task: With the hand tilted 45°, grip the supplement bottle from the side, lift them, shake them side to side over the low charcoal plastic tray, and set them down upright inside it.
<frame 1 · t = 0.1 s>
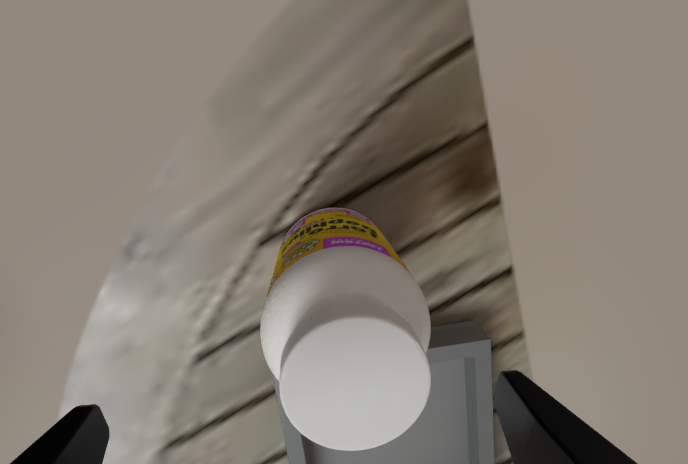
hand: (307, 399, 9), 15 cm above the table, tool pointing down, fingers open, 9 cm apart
tray: (385, 420, 28), on the table
supplement bottle: (332, 257, 25), on the table
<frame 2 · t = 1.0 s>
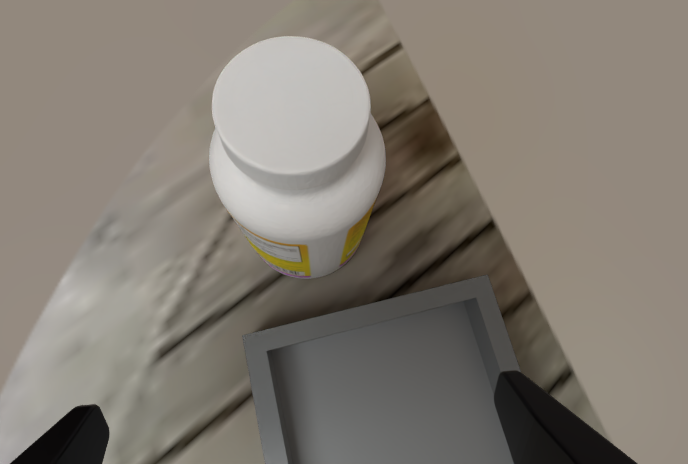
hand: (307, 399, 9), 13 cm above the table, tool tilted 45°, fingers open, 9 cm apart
tray: (395, 429, 21), on the table
supplement bottle: (306, 226, 24), on the table
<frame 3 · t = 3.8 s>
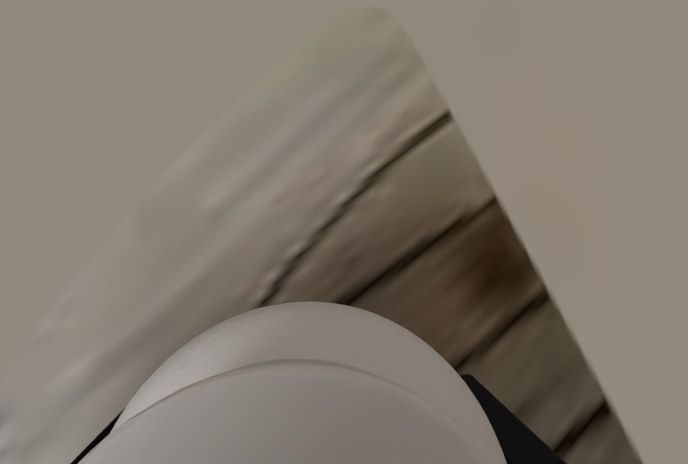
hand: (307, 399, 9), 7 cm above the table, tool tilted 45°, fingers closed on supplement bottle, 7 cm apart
supplement bottle: (314, 418, 15), on the table, touching gripper
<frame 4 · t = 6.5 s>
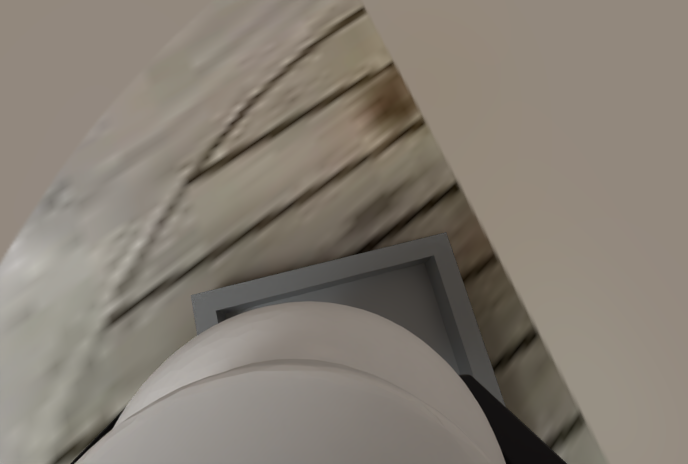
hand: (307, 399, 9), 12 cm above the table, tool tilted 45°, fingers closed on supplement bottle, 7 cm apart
tray: (353, 392, 21), on the table
supplement bottle: (316, 417, 15), point 5 cm above the table, touching gripper
when the fingers open (8 cm above the table, at t = 9.5 s): supplement bottle stays where it is, resting on tray.
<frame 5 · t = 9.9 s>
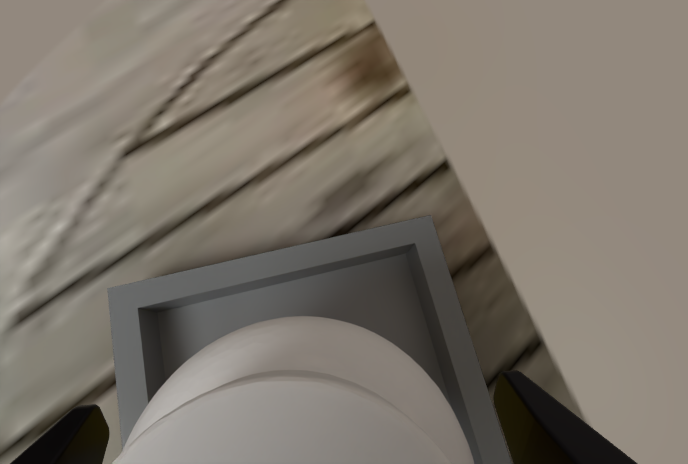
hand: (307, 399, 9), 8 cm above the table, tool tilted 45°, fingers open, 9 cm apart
tray: (314, 412, 17), on the table
supplement bottle: (311, 418, 16), resting on tray
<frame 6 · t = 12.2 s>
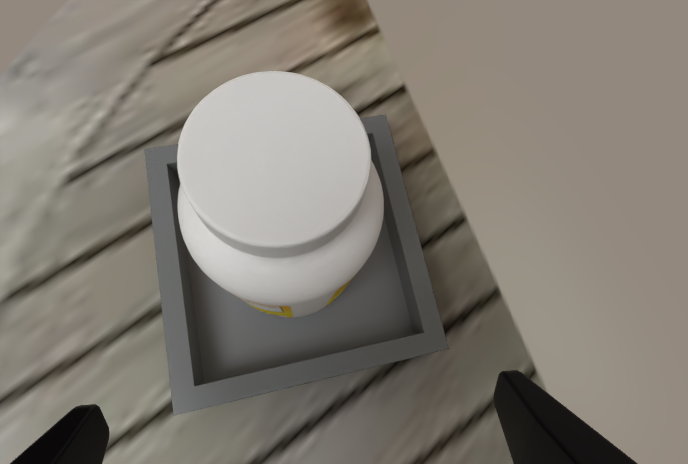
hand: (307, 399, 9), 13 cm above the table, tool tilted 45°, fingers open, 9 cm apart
tray: (293, 256, 23), on the table
supplement bottle: (290, 257, 22), resting on tray
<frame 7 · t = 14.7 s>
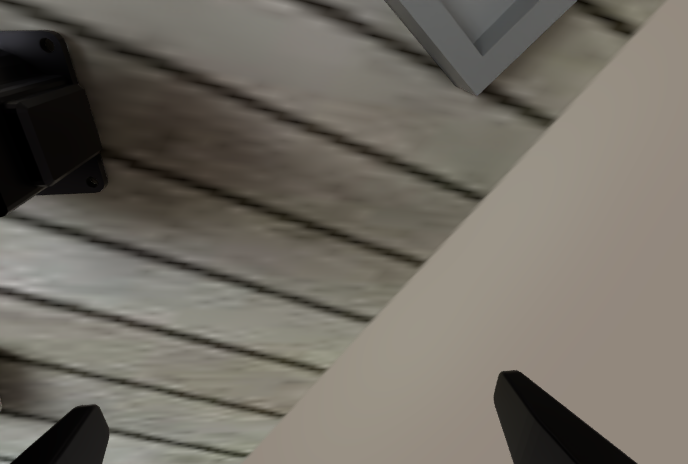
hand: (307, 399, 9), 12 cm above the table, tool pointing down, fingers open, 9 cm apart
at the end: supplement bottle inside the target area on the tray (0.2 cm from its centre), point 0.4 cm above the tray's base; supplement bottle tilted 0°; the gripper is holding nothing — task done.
